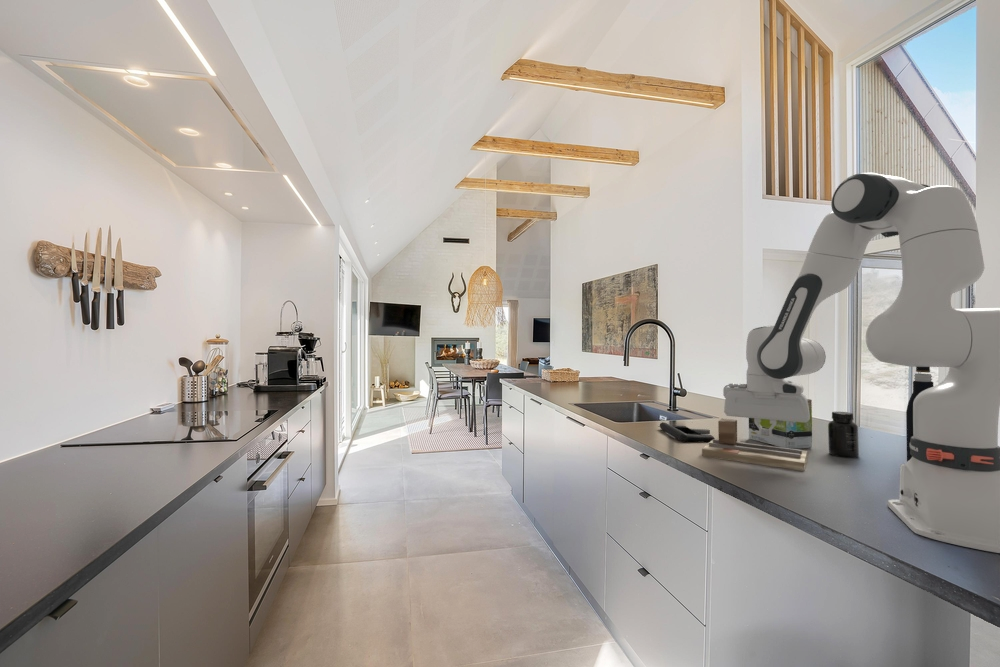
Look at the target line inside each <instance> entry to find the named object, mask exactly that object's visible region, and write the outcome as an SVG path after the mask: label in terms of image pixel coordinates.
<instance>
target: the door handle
mask: <svg viewBox="0 0 1000 667" xmlns="http://www.w3.org/2000/svg"><path fill="white" fill-rule="evenodd" d="M657 427H659V428H660V430H661V431H663V432H664V433H665V434H667V435H668V436H669V437H671V438H673V439H674V440H678V441H680V442H681V443H688V442H689V443H709V442H710V441H712V440H713V439H716V438H715V436H713V435H711V434H710V433H711V430H710V429H707V428H706V429H705V428H704V429H703V428H691V427H690V428H689V427H688V426H685V425H674V424H673V425H671V424H669V423H667V422H664V421H663V422H660V424H659V426H658V425H657Z"/></svg>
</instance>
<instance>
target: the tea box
mask: <svg viewBox="0 0 1000 667" xmlns="http://www.w3.org/2000/svg"><path fill="white" fill-rule="evenodd" d="M807 401H808V406H809V413H810V420H809V421H808V422H806V423H803V422H792V421H780V420H776V422H777V423H776V425H775V426H774V428H773V429H772V436H764V435H759V429H758V427H757V426H756V424H755V422H754V418H748V439H749V440H750V439H751V440H754V441H757V442H761V443H765V444H769V445H770V446H771V445H772V446H774V447H782V448H790V449H806V448H807V449H808V448H812V447H813V414H812V413H813V411H812V410H813V407H812V406H813V402H812V399H810V398H807ZM760 425H761V426H762V428H767V429H769V428H770V427H771V425H772V424H770V420H769V419H761V422H760Z"/></svg>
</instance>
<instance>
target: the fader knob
mask: <svg viewBox="0 0 1000 667" xmlns="http://www.w3.org/2000/svg"><path fill="white" fill-rule="evenodd" d="M717 422H718V423H717V424H718V427H717V428H718V440H719V444H727V445H734V446H737V442H738V420H737V419H731V418H721V419H718V421H717Z"/></svg>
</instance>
